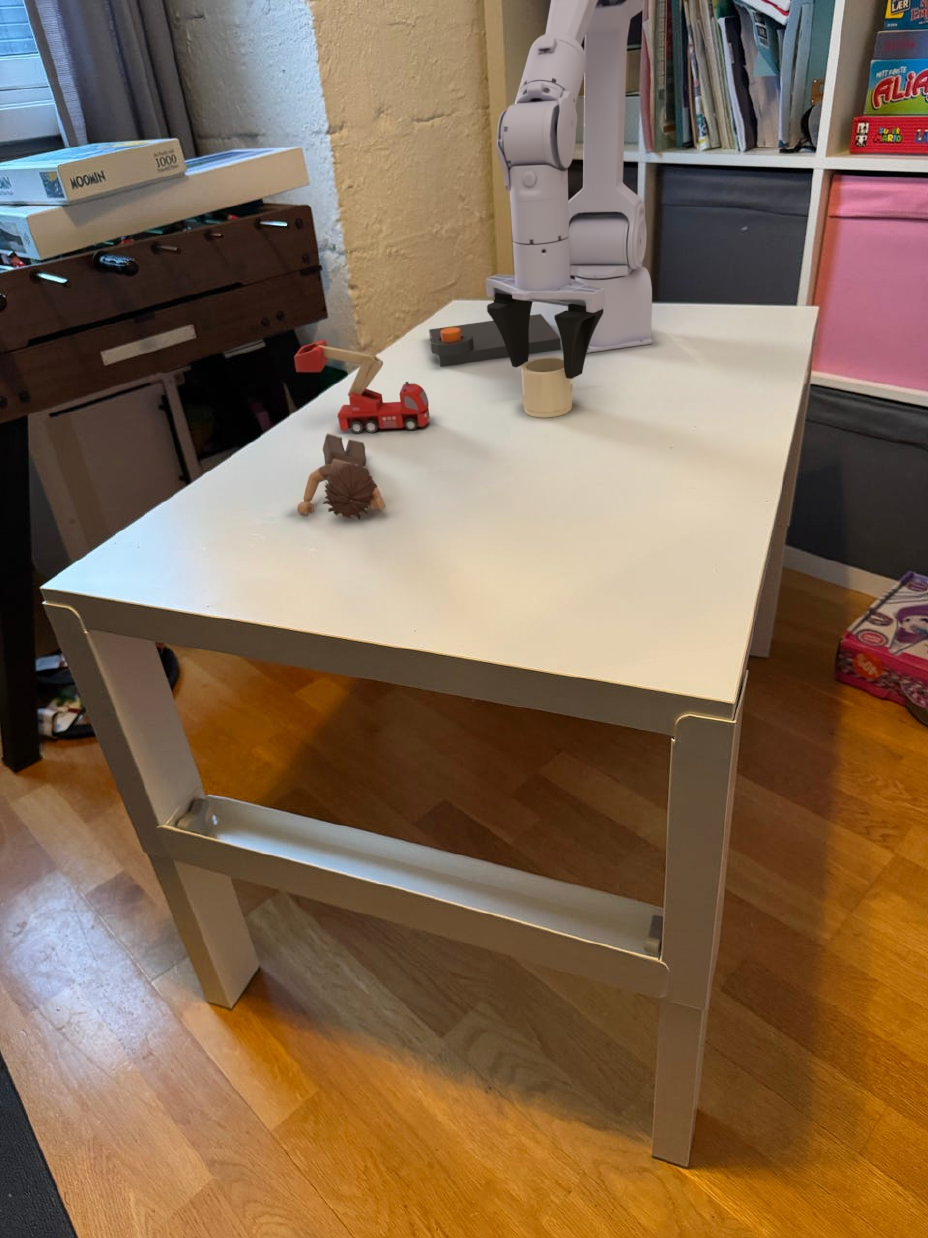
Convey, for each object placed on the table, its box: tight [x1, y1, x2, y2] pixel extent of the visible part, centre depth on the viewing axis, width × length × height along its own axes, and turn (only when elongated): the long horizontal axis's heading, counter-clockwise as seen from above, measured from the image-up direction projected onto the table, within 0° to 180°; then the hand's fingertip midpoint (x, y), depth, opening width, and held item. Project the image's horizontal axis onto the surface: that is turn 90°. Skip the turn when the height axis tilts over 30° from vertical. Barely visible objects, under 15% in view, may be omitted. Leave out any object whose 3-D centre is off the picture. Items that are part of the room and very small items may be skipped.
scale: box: [428, 313, 562, 368], centre depth 118 cm, size 17×13×3 cm
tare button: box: [441, 326, 461, 342], centre depth 114 cm, size 3×3×1 cm
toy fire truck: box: [293, 340, 431, 434], centre depth 97 cm, size 3×14×10 cm, turn 84°
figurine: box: [296, 433, 386, 520], centre depth 85 cm, size 8×5×15 cm
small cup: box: [520, 356, 574, 419], centre depth 98 cm, size 5×6×5 cm
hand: (546, 369), depth 97 cm, fingers open, 7 cm apart
